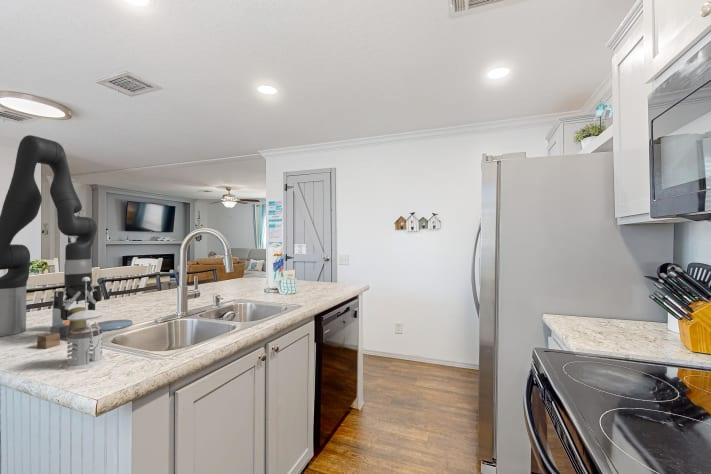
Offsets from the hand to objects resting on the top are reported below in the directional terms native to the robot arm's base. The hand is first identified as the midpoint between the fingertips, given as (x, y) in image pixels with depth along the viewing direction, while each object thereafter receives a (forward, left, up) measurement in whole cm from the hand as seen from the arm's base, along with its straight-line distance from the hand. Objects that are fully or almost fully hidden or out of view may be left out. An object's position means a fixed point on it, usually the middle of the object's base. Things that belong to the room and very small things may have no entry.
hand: (78, 317), depth 116 cm
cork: (0, 0, -8) cm, 8 cm away
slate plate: (-3, +15, -8) cm, 17 cm away
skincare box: (-17, +7, -8) cm, 20 cm away
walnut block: (0, -9, -8) cm, 12 cm away
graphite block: (-8, 0, -8) cm, 11 cm away
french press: (+27, -17, -8) cm, 33 cm away
